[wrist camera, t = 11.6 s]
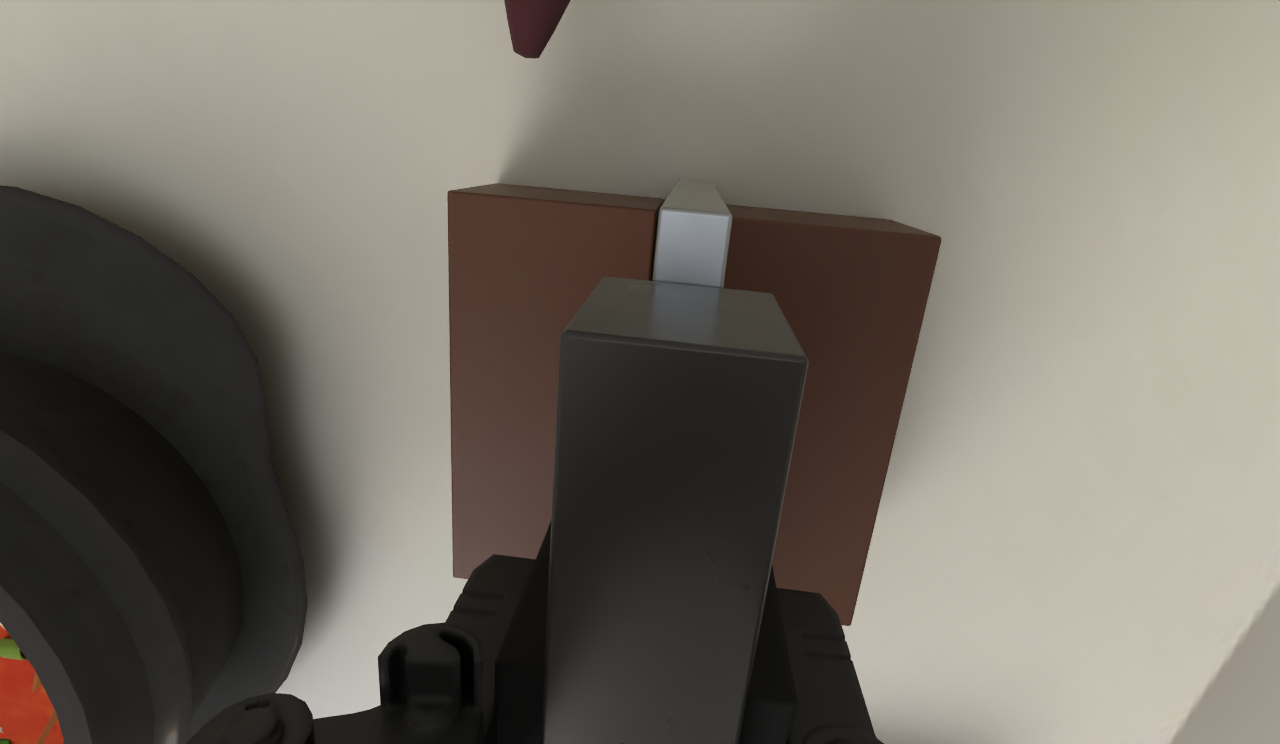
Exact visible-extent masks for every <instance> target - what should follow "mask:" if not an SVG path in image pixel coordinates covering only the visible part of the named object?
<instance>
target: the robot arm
mask: <svg viewBox="0 0 1280 744" xmlns="http://www.w3.org/2000/svg"><path fill="white" fill-rule="evenodd" d="M551 520H552V519H551ZM550 541H551V522H550V524H549V527H548V530H547V532H546V535H545V537H544V540H543V542H542V545H541V547H540V550H539V552H538V555H537V557H536V559H529V558H521V557H513V556H505V555H497V554H493V555H492V556H491V557H489V558H488V559H487V560H485V561H484V562H483V563H482V564H480V565H479V566H478V567H476V568H475V569H474V570H473V572H472V574H471V575H470V577H469V579H468V581H467V583H466V585H465V587H464V588H463V592H462V594H460V596H459V598H458V600H457V602H456V603H455V605H454V609H453V611H451V613H450V615H449V617H448V618H447V620H446V622H445V623H437V624H426V625H422V626H419V627H416V628H413V629H411V630H408V631H405V632H403V633H402V634H401V635H399V636H398V637H396V638H395V639H393V640H392V641H390V642H389V643H388V644H387V646H386V647H385V648H384V650H383V651H382V652H381V654H380V655H379V656H378V666H379V683H380V700H381V705H380V706H377V707H375V708H373V709H370V710H366V711H362V712H358V713H353V714H346V715H339V716H332V717H325V718H318V719H313V716H312V713H311V711H310V710H309V708H308V706H307V704H306V703H305V702H304V701H302V700H300V699H298V698H297V697H295V696H293V695H291V694H277V693H269V694H264V695H259V696H255V697H250V698H247V699H245V700H243V701H240V702H238V703H236V704H234V705H232V706H230V707H227V708H225V709H224V710H223V711H222V712H220V713H219V714H218V715H216V716H215V717H214V718H212V719H211V720H210V721H209V722H207V723H206V724H205V725H204V726H203V727H202V728H201V729H200V730H199V731H198V732H197V733H196V734H195V735H194V736H193V737H192V738H191V739H190V740H189V741H188V742H187V743H186V744H541V728H542V707H543V686H544V666H545V645H546V624H547V603H548V583H549V562H550ZM739 744H884V743H882V742H881V741H879V740H878V739H877V738H876V736H875V733H874V730H873V727H872V724H871V720H870V717H869V714H868V711H867V707H866V704H865V701H864V698H863V694H862V691H861V688H860V684H859V681H858V678H857V675H856V671H855V668H854V665H853V662H852V661H851V655H850V652H849V649H848V645H847V642H846V641H845V636H844V632H843V629H842V626H841V623H840V619H839V616H838V614H837V612H836V611H835V610H834V609H833V608H832V607H831V605H830V604H829V603H828V602H827V601H826V599H825V598H824V597H823V596H822V595H821V593H815V592H807V591H799V590H791V589H783V588H776V582H775V577H774V571H773V566H772V565H771V570H770V576H769V581H768V587H767V592H766V598H765V603H764V609H763V614H762V619H761V625H760V630H759V636H758V641H757V647H756V652H755V658H754V663H753V669H752V674H751V680H750V685H749V690H748V696H747V701H746V707H745V712H744V718H743V723H742V729H741V734H740V740H739Z"/></svg>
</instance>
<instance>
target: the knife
mask: <svg viewBox="0 0 1280 744" xmlns="http://www.w3.org/2000/svg"><path fill="white" fill-rule="evenodd" d="M731 226H732V215H731V213H730V211H729V209H728V208H727V206H726V204H725V202H724V201H723V199H722V197H721V196H720V194H719V192H718V190H717V189H716V187H715V185H714V184H713V183H712V182H704V181H693V180H683V179H680V180H679V181H678V182H677V184H676V185H675V187H674V188H673V190H672V191H671V193H670V194H669V196H668V197H667V199H666V200H665V202H664V203H663V205H662V206H661V208H660V210H659V215H658V225H657V236H656V246H655V257H654V268H653V278H652V281H647V280H637V279H628V278H618V277H608V276H606V277H603V278H602V279H601V281H600V282H599V283H598V285H597V286H596V287H595V289H594V290H593V291H592V293H591V294H590V295H589V297H588V298H587V299H586V301H585V302H584V303H583V305H582V306H581V307H580V309H579V310H578V311H577V313H576V314H575V315H574V317H573V318H572V319H571V321H570V322H569V323H568V325H567V326H566V327H565V329H564V330H563V331H562V333H561V335H560V354H559V375H558V396H557V417H556V437H555V458H554V479H553V500H552V520H551V541H550V562H549V583H548V603H547V624H546V645H545V666H544V686H543V707H542V728H541V744H739V740H740V734H741V729H742V723H743V718H744V712H745V707H746V701H747V696H748V690H749V685H750V680H751V674H752V669H753V663H754V658H755V652H756V647H757V641H758V636H759V630H760V625H761V619H762V614H763V609H764V603H765V598H766V592H767V587H768V581H769V576H770V570H771V565H772V559H773V554H774V548H775V543H776V538H777V532H778V527H779V521H780V516H781V510H782V505H783V499H784V494H785V488H786V483H787V477H788V472H789V467H790V461H791V456H792V450H793V445H794V439H795V434H796V428H797V423H798V417H799V412H800V406H801V401H802V396H803V390H804V385H805V379H806V374H807V368H808V363H809V362H808V358H807V356H806V354H805V352H804V350H803V348H802V347H801V345H800V343H799V341H798V339H797V337H796V336H795V334H794V332H793V330H792V328H791V326H790V325H789V323H788V321H787V319H786V317H785V315H784V314H783V312H782V310H781V308H780V306H779V304H778V303H777V301H776V299H775V297H774V295H773V294H771V293H764V292H754V291H745V290H735V289H725V288H723V287H724V279H725V272H726V264H727V256H728V249H729V241H730V234H731Z"/></svg>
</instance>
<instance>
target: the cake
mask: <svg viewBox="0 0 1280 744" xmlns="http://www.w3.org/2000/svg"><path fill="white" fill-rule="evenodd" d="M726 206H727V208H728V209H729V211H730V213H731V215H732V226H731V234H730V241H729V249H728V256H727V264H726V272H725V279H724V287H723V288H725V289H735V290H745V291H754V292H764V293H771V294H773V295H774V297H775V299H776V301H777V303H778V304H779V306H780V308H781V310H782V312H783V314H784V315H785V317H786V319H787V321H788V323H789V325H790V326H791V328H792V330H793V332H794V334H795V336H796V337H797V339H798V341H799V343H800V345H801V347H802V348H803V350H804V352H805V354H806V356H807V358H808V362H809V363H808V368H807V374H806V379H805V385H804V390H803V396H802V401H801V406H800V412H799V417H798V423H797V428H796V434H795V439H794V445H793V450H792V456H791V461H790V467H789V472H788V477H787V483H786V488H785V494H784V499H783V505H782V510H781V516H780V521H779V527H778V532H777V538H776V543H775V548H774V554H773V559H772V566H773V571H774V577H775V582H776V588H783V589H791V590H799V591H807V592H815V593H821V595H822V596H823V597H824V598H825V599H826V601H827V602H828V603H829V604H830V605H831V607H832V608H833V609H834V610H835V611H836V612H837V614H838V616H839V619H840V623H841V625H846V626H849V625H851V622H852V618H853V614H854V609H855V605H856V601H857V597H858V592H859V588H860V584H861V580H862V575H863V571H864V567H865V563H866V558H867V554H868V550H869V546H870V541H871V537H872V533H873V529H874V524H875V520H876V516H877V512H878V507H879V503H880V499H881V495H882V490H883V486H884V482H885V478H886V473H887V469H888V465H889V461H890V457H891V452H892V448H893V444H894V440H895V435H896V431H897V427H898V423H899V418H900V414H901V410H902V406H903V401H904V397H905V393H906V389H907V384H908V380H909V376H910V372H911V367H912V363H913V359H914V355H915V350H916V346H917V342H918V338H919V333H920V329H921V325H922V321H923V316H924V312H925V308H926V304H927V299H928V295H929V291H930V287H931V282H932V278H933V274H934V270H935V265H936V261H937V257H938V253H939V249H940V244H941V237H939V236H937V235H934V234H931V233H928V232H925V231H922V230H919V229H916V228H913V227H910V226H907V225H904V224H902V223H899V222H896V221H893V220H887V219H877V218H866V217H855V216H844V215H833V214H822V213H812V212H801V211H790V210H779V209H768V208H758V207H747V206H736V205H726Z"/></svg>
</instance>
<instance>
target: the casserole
mask: <svg viewBox="0 0 1280 744" xmlns="http://www.w3.org/2000/svg"><path fill="white" fill-rule="evenodd" d="M306 609H307V595H306V585H305V574H304V564H303V557H302V554H301V551H300V548H299V545H298V542H297V539H296V536H295V533H294V530H293V527H292V523H291V520H290V517H289V514H288V511H287V508H286V505H285V502H284V499H283V496H282V493H281V490H280V487H279V484H278V481H277V478H276V475H275V472H274V469H273V466H272V463H271V455H270V446H269V437H268V428H267V418H266V410H265V404H264V398H263V392H262V386H261V380H260V374H259V368H258V362H257V358H256V357H255V355H254V353H253V351H252V349H251V348H250V346H249V344H248V342H247V340H246V339H245V337H244V335H243V333H242V331H241V330H240V328H239V326H238V324H237V323H236V321H235V319H234V317H233V315H232V314H231V313H230V312H229V311H228V310H227V309H226V308H225V307H224V306H223V305H222V304H221V303H220V302H219V301H218V300H217V299H216V298H215V297H214V296H213V295H212V294H211V293H210V292H209V291H208V290H207V289H206V288H205V287H204V286H203V285H202V284H201V283H200V282H199V281H198V280H197V279H196V278H195V277H194V276H193V275H192V274H191V273H189V272H188V271H186V270H185V269H184V268H182V267H181V266H179V265H178V264H177V263H175V262H174V261H173V260H171V259H170V258H168V257H167V256H166V255H164V254H163V253H161V252H160V251H159V250H157V249H156V248H154V247H153V246H152V245H150V244H149V243H147V242H146V241H145V240H143V239H142V238H140V237H139V236H137V235H135V234H133V233H131V232H129V231H127V230H125V229H123V228H121V227H119V226H117V225H115V224H113V223H111V222H109V221H107V220H105V219H103V218H101V217H99V216H97V215H95V214H93V213H91V212H90V211H88V210H86V209H84V208H82V207H80V206H77V205H73V204H70V203H67V202H63V201H60V200H57V199H54V198H50V197H47V196H44V195H40V194H37V193H34V192H31V191H27V190H24V189H21V188H17V187H9V186H0V744H186V743H187V742H188V741H189V740H190V739H191V738H192V737H193V736H194V735H195V734H196V733H197V732H198V731H199V730H200V729H201V728H202V727H203V726H204V725H205V724H206V723H207V722H209V721H210V720H211V719H212V718H214V717H215V716H216V715H218V714H219V713H220V712H222V711H223V710H224V709H225V708H227V707H230V706H232V705H234V704H236V703H238V702H240V701H243V700H245V699H247V698H250V697H255V696H259V695H264V694H269V693H275V692H276V691H277V690H278V688H279V687H280V686H281V685H282V683H283V682H284V681H285V680H286V678H287V677H288V674H289V672H290V670H291V667H292V665H293V663H294V660H295V658H296V656H297V653H298V651H299V648H300V646H301V644H302V638H303V631H304V623H305V616H306Z"/></svg>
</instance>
